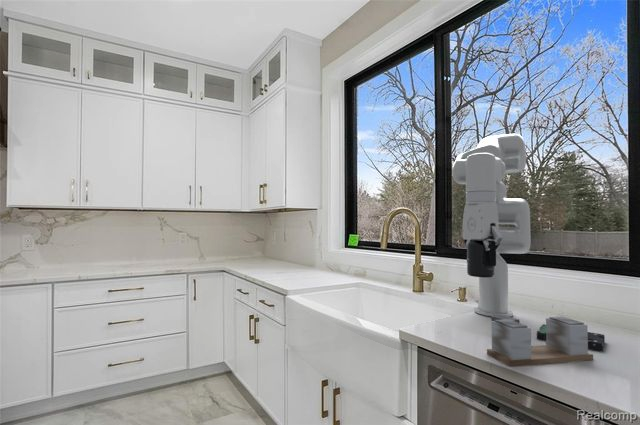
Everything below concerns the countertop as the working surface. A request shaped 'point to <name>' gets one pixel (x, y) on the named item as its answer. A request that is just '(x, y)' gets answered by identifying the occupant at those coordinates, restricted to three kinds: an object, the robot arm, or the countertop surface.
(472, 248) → the supplement bottle
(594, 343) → the disk drive
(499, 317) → the block
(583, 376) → the countertop surface
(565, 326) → the rail
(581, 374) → the countertop surface
